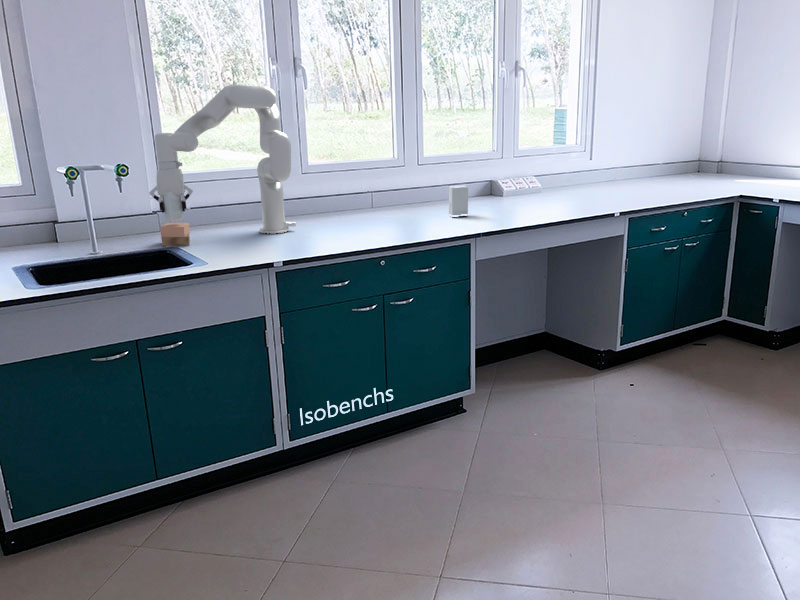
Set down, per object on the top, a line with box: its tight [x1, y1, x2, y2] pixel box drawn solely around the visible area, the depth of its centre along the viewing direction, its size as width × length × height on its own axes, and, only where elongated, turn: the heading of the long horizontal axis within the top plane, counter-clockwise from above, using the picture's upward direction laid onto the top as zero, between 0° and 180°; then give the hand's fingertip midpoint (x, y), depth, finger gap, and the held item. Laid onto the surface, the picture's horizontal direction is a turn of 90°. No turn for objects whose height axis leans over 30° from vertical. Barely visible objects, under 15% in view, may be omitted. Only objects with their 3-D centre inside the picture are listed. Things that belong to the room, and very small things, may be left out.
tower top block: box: [159, 222, 191, 238], centre depth 260 cm, size 9×9×4 cm
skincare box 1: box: [162, 191, 185, 223], centre depth 257 cm, size 6×4×12 cm
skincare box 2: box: [448, 184, 469, 215], centre depth 315 cm, size 8×6×15 cm
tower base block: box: [161, 233, 191, 248], centre depth 261 cm, size 10×10×4 cm
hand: (173, 211), depth 258 cm, fingers closed on skincare box 1, 7 cm apart
